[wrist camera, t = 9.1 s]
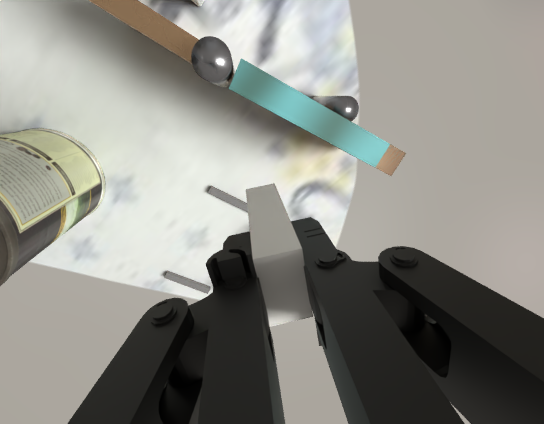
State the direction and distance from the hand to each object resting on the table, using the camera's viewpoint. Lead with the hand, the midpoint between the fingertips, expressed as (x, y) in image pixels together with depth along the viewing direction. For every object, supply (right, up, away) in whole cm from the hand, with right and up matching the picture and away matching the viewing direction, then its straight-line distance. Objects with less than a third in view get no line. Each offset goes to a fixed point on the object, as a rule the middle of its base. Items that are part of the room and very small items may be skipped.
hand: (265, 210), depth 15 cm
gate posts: (-3, +14, +13) cm, 20 cm away
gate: (+3, +10, +14) cm, 18 cm away
